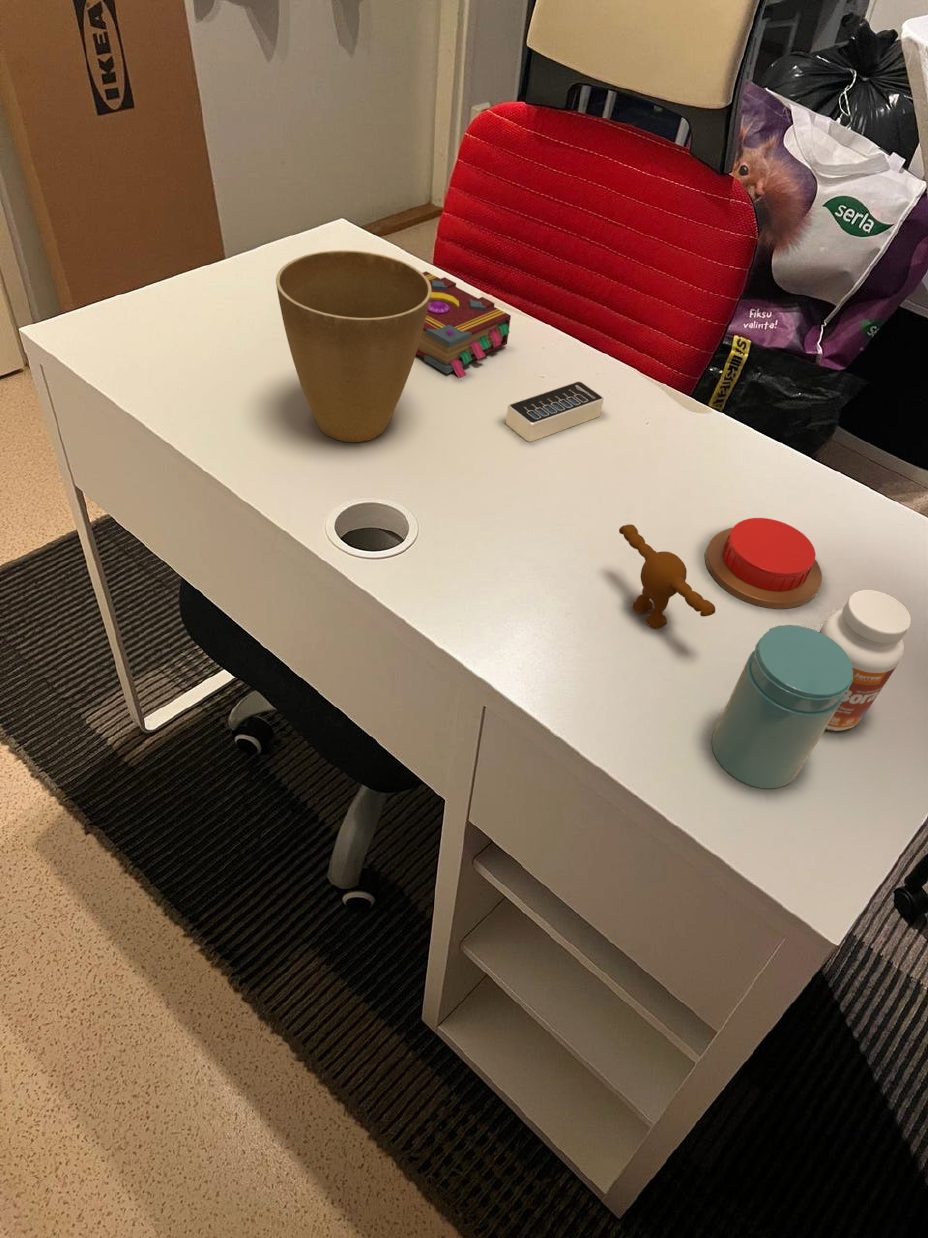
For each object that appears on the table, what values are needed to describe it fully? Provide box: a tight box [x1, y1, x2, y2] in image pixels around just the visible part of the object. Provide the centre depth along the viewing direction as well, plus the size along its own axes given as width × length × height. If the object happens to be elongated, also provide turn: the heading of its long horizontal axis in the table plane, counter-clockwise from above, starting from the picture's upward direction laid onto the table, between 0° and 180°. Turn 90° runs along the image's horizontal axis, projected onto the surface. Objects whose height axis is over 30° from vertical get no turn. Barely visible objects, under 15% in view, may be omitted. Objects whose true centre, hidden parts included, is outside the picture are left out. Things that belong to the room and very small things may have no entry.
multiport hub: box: [505, 381, 604, 442], centre depth 101 cm, size 4×11×2 cm, turn 127°
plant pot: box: [275, 249, 432, 443], centre depth 92 cm, size 15×15×16 cm
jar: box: [711, 624, 853, 790], centre depth 67 cm, size 7×7×11 cm
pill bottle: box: [819, 589, 912, 732], centre depth 72 cm, size 6×6×11 cm
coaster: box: [704, 527, 823, 610], centre depth 87 cm, size 11×11×1 cm
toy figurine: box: [618, 524, 716, 629], centre depth 79 cm, size 12×4×7 cm, turn 29°
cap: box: [723, 517, 816, 591], centre depth 86 cm, size 8×8×2 cm
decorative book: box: [416, 270, 512, 379], centre depth 111 cm, size 11×16×5 cm
